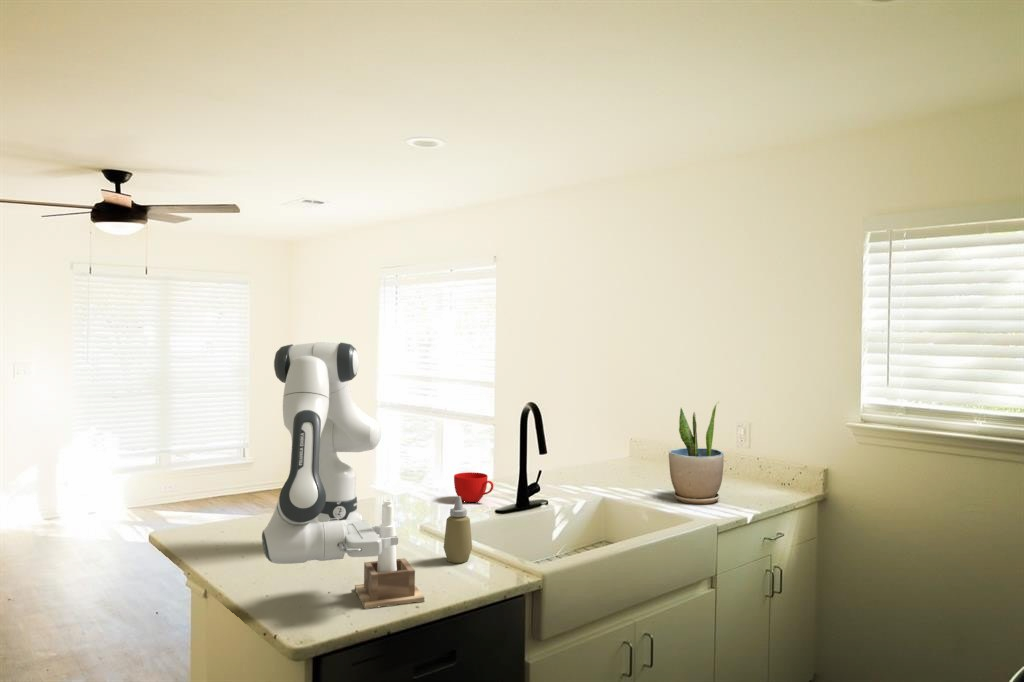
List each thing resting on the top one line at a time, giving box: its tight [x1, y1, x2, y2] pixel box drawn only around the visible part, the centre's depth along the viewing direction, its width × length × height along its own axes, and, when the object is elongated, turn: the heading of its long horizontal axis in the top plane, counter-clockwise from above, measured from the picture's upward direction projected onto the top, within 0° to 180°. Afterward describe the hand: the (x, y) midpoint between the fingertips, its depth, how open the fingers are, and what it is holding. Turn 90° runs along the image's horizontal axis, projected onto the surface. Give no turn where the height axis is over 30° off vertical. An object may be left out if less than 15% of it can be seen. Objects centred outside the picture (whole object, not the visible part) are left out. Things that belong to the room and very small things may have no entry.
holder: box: [354, 558, 425, 609], centre depth 174 cm, size 14×14×7 cm
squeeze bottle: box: [443, 495, 473, 564], centre depth 203 cm, size 8×8×18 cm
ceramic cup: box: [453, 471, 494, 503], centre depth 276 cm, size 13×17×10 cm
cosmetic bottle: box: [377, 499, 397, 573], centre depth 174 cm, size 6×6×22 cm
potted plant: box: [668, 401, 725, 505], centre depth 285 cm, size 21×22×40 cm
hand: (393, 535), depth 175 cm, fingers open, 8 cm apart
